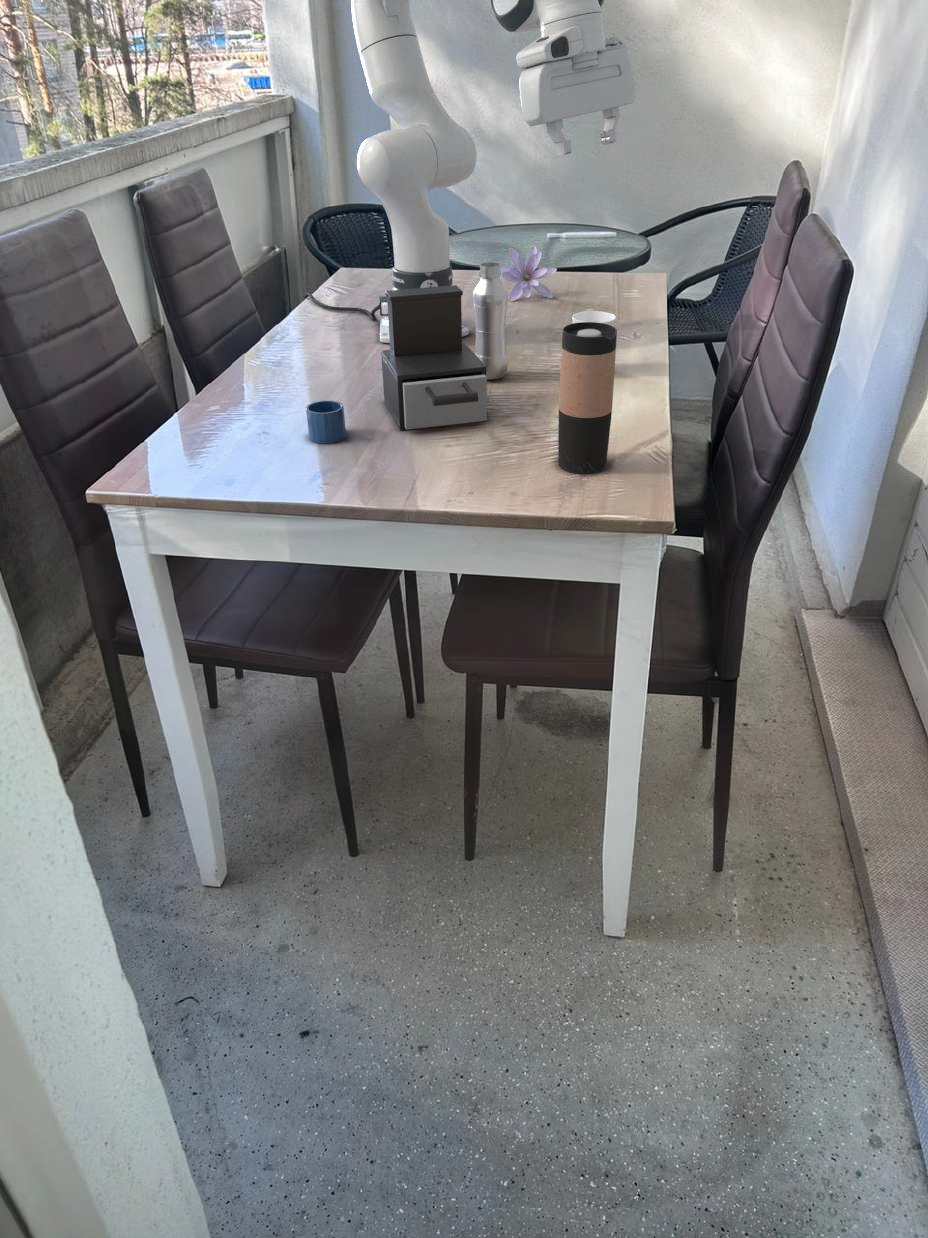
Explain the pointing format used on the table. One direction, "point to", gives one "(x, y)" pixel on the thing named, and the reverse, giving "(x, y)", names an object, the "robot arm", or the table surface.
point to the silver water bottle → (491, 320)
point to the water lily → (526, 274)
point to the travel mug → (586, 396)
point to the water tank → (425, 320)
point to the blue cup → (326, 422)
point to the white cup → (594, 317)
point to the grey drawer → (444, 400)
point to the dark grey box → (422, 373)
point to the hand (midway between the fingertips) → (587, 148)
